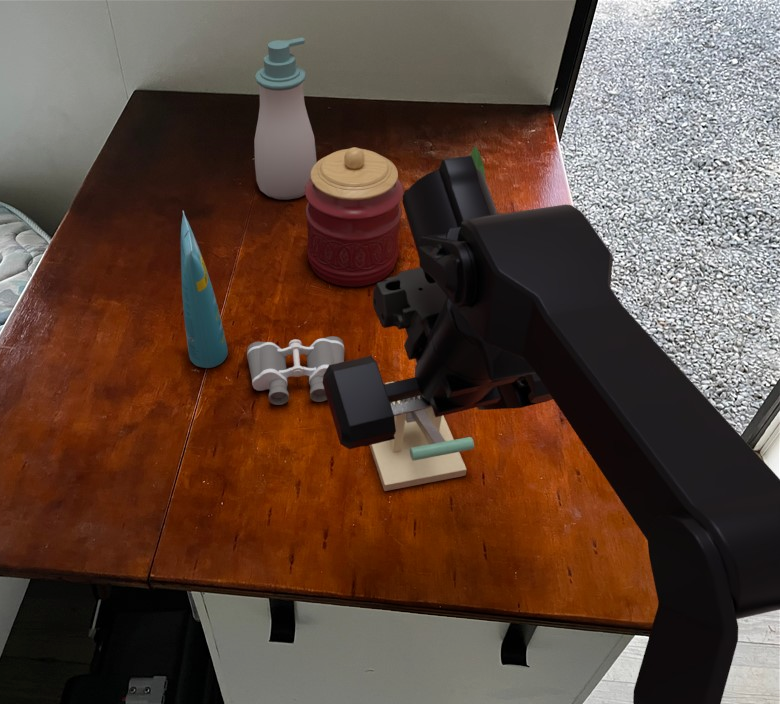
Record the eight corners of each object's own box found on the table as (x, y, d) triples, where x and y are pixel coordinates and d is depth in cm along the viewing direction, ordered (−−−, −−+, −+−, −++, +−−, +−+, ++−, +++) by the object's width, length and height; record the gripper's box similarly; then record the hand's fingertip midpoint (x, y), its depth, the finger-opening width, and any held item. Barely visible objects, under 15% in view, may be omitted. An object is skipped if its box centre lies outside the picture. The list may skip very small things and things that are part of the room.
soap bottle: (327, 191, 114) (325, 49, 98) (271, 208, 111) (260, 65, 95) (301, 163, 120) (295, 25, 104) (247, 178, 117) (233, 39, 101)
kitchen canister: (292, 275, 100) (285, 164, 87) (328, 224, 108) (327, 116, 95) (379, 299, 96) (385, 186, 83) (410, 244, 104) (420, 134, 91)
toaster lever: (474, 456, 67) (474, 435, 66) (413, 468, 66) (412, 446, 66) (435, 404, 77) (434, 384, 76) (382, 413, 76) (381, 394, 75)
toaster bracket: (465, 475, 76) (475, 431, 70) (384, 491, 75) (388, 447, 69) (430, 392, 84) (436, 346, 78) (356, 406, 83) (357, 360, 77)
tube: (234, 369, 87) (215, 244, 74) (196, 380, 86) (169, 255, 73) (220, 330, 92) (199, 206, 79) (183, 339, 91) (156, 215, 78)
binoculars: (343, 351, 89) (343, 331, 87) (350, 400, 84) (351, 380, 81) (248, 358, 89) (245, 338, 86) (249, 407, 83) (246, 388, 81)
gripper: (555, 215, 52) (495, 313, 66) (308, 266, 49) (301, 356, 63) (620, 350, 47) (540, 424, 62) (353, 414, 45) (334, 475, 59)
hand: (428, 416), depth 61 cm, fingers open, 9 cm apart
